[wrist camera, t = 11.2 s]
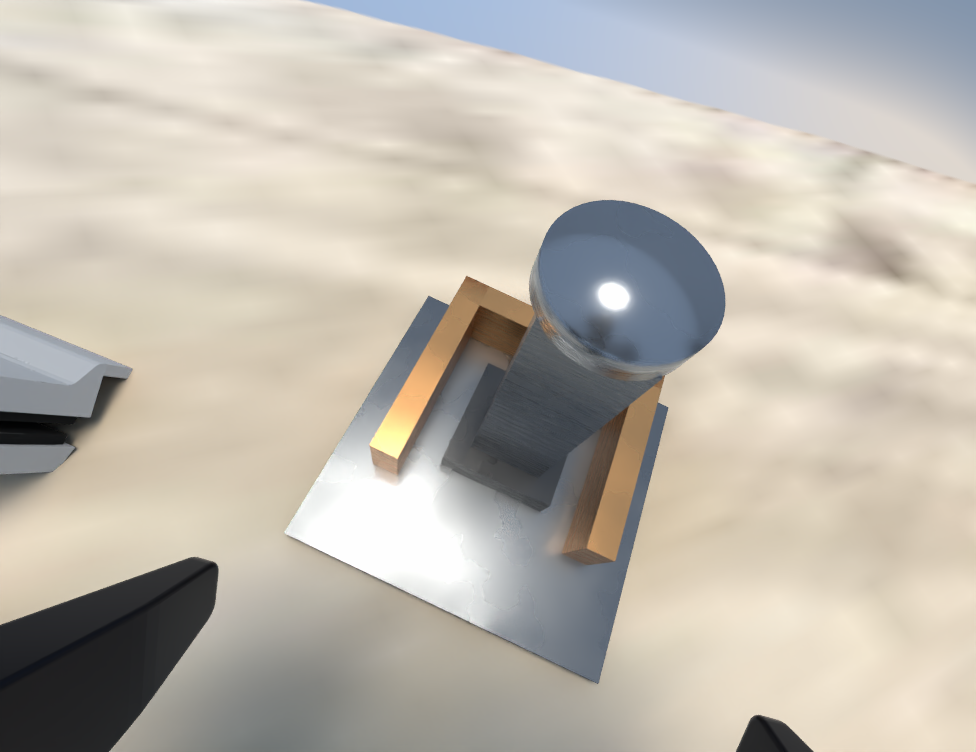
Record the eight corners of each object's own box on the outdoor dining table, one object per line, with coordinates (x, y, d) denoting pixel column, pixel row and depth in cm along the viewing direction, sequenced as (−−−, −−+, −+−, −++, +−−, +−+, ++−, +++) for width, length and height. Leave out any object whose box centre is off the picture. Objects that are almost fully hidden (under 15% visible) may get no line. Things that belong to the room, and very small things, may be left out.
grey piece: (540, 511, 21) (718, 414, 9) (440, 464, 21) (492, 309, 9) (573, 418, 23) (750, 245, 11) (483, 376, 23) (568, 161, 12)
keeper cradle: (592, 681, 19) (632, 700, 16) (287, 534, 19) (264, 523, 16) (662, 411, 25) (701, 384, 22) (428, 302, 25) (432, 259, 22)
